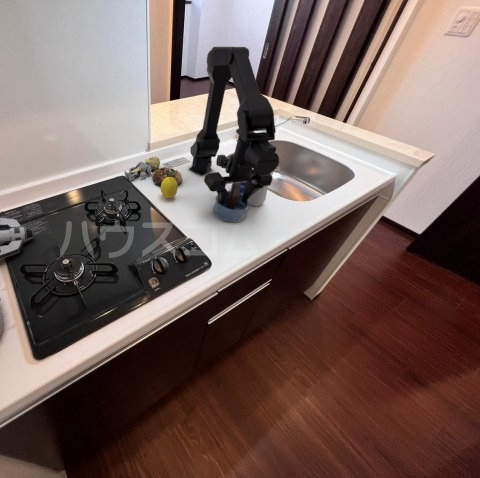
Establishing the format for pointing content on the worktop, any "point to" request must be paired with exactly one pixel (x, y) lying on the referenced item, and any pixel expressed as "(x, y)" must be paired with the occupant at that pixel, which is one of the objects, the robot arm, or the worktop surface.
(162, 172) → the bread roll
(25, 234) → the toy spacecraft
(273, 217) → the worktop surface
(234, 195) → the muddler
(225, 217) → the bowl
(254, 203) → the salt shaker
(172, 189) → the lemon
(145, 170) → the toy
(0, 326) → the dish
